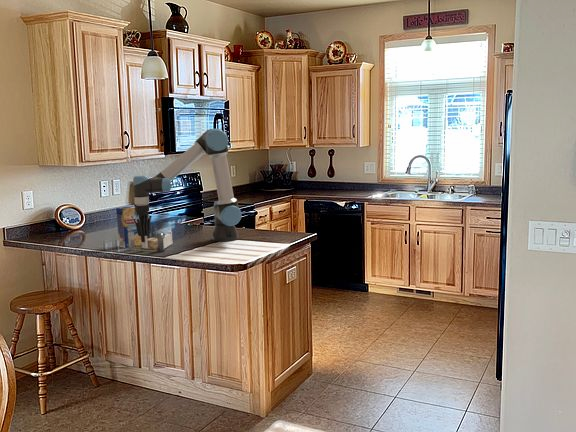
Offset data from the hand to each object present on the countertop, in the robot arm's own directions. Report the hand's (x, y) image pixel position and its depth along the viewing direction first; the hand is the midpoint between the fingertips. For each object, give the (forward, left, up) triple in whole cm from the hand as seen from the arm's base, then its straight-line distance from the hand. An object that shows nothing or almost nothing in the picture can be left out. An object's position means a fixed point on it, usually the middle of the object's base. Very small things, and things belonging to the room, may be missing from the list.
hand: (144, 247), depth 316 cm
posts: (-2, 0, -2) cm, 3 cm away
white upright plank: (-7, -10, -1) cm, 12 cm away
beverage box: (+17, -10, -2) cm, 20 cm away
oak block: (0, -8, -2) cm, 9 cm away
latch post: (+9, 0, -2) cm, 9 cm away
